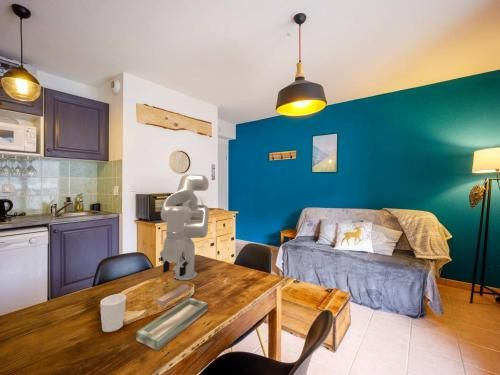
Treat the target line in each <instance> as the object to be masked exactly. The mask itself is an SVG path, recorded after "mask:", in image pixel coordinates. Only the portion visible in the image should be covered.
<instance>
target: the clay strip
mask: <svg viewBox="0 0 500 375" xmlns="http://www.w3.org/2000/svg"><path fill="white" fill-rule="evenodd" d="M187 290H189V291H190V286H189V285H186V284H183V285H180V286H178V287H177V288H175V289H173V290H172V291H169V292H168V293H166V294H164V295H163V296H160V297H159V298H156V305H157V304H160V305H162V310H161V311H164V310H165V309H164V306H165V305H166V304H167V303H168V302H170V301H171V300H173V299H175V298H177V297H179V296H180V295H182V294H183V293H185V292H186V291H187Z"/></svg>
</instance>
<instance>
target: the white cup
mask: <svg viewBox="0 0 500 375" xmlns="http://www.w3.org/2000/svg"><path fill="white" fill-rule="evenodd" d="M126 299H127V296H126V295H125V294H122V293H117V294H116V293H115V294H111V295H109V296H106V297H104V298H102V299H101V300H100V312H101V314H100V322H101V330H102V331H103V332H104V333H111V332H115V331H118V330H120V329H121V328H122V327H123V326H124V324H123V319H124V320H125V314H126V313H125V312H126V302H127V301H126Z"/></svg>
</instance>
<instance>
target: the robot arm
mask: <svg viewBox="0 0 500 375" xmlns="http://www.w3.org/2000/svg"><path fill="white" fill-rule="evenodd" d="M209 186H210V183H209V179H208V178H207V176H206V175H202V174H184V175H182V177H181V178H180V181H179V185H178V187H177V191H175V192H173V193H171V194H170V195H169V196H168V197H167V198H165V200H164V202H163V205H162V207H161V210H160V218H161V220H162V221H163V222H166V232H165V237H164V241H163V246H162V251H160V252H159V256H160V260H161V263H162V264H163V266H162V272H163V273H166V272H167V273H168V272H169V271H170V263H175V264H176V265H174V266H173V268H172V271H174V272H175V273H174V275H173V278H174V279H175V278H176V279H175V280H177V279H179V280H178V281H191V280H192V279H195V278H196V277H197V276H198V273H197V271H195V251H196V247H195V246H196V245H195V242H194V241H193V239H203V238H205V237H207V236H208V229H209V218H210V215H209V214H210V211H209V207H208V206H207V205H205V204H198V201H199V200H198V196H196V194H195V193H194V192H195V191H197V192H198V191H199V192H200V191H201V192H206V191H207V190H208V188H209ZM180 204H182V205H180Z"/></svg>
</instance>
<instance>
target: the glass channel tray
mask: <svg viewBox="0 0 500 375" xmlns="http://www.w3.org/2000/svg"><path fill="white" fill-rule="evenodd" d="M208 310H209V303H208V302H205V301H202V300H199V299H196V298H193V297H188V298H186V299H184V300H182V302H180V303H178V304H177V305H175V306H173V307H172V308H171V309H169V310H167V311H166V312H164V313H163V314H161V315H160V316H158V317H157V318H155V319H154V320H152V321H151V322H149V323H147V324H146V325H144V326H143V327H141V328H140V329H139V330H137V331H136V334H135V335H136V338H135V340H136V341H137V342H138V343H141V344H143V345H145V346H147V347H149V348H151V349H153V350H155V351H157V352H158V351H159V350H161V349H162V348H163V347H165V345H167V344H168V343H169V342H171V340H173V339H174V338H175V337H177V336H178V335H179V334H180V333H182V332H183V331H184V330H186V329H187V328H188V327H189V326H190V325H191V324H193V323H194V322H195V321H197V319H199V318H200V317H201V316H202V315H204V314H205V313H207V311H208Z"/></svg>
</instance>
